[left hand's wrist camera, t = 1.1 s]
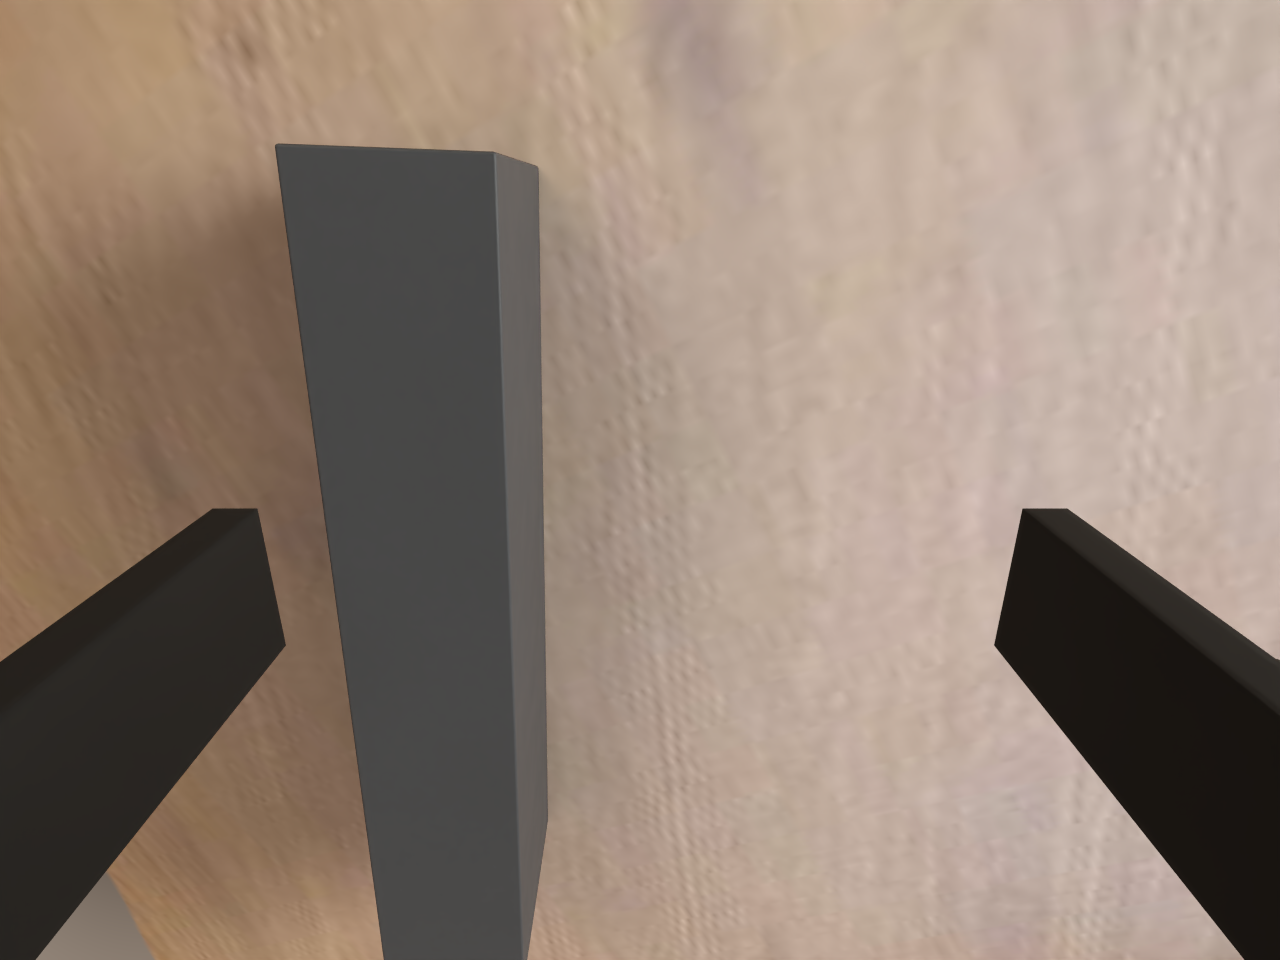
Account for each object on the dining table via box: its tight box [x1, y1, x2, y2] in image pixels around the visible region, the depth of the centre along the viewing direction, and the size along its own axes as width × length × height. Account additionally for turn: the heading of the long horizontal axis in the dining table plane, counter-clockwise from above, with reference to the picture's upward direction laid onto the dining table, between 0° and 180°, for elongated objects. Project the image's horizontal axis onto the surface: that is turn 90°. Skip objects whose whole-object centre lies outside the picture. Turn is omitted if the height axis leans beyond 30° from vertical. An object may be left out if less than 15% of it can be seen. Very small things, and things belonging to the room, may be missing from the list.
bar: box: [275, 144, 548, 960], centre depth 29 cm, size 32×6×8 cm, turn 178°
